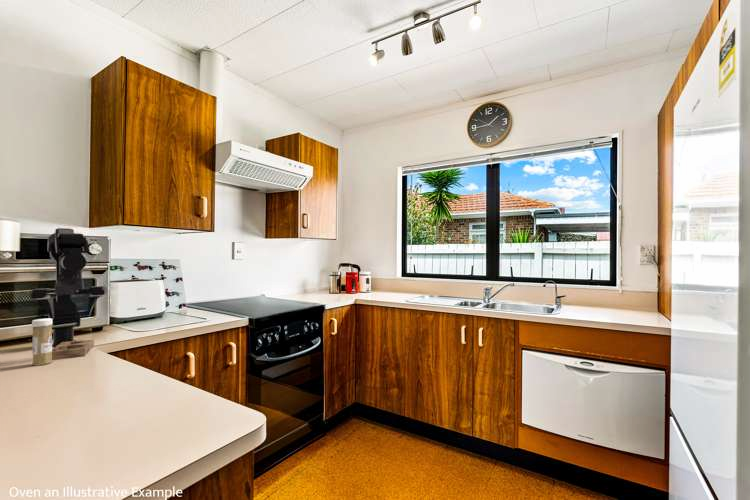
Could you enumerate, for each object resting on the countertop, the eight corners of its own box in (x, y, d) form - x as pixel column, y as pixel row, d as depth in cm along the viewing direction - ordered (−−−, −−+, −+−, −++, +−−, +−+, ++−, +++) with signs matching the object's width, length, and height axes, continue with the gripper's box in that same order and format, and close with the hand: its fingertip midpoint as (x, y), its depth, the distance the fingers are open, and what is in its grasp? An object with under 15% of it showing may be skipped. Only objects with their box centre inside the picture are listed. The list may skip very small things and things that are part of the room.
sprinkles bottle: (50, 364, 108) (50, 319, 108) (30, 366, 106) (30, 321, 106) (53, 360, 112) (53, 317, 112) (33, 363, 110) (34, 318, 110)
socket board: (94, 346, 131) (94, 339, 131) (84, 355, 117) (84, 348, 117) (61, 349, 126) (61, 342, 126) (48, 360, 113) (48, 352, 113)
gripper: (23, 272, 108) (23, 325, 107) (101, 270, 117) (101, 319, 117) (36, 271, 117) (36, 319, 117) (106, 269, 127) (107, 314, 126)
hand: (70, 318), depth 119 cm, fingers open, 9 cm apart
